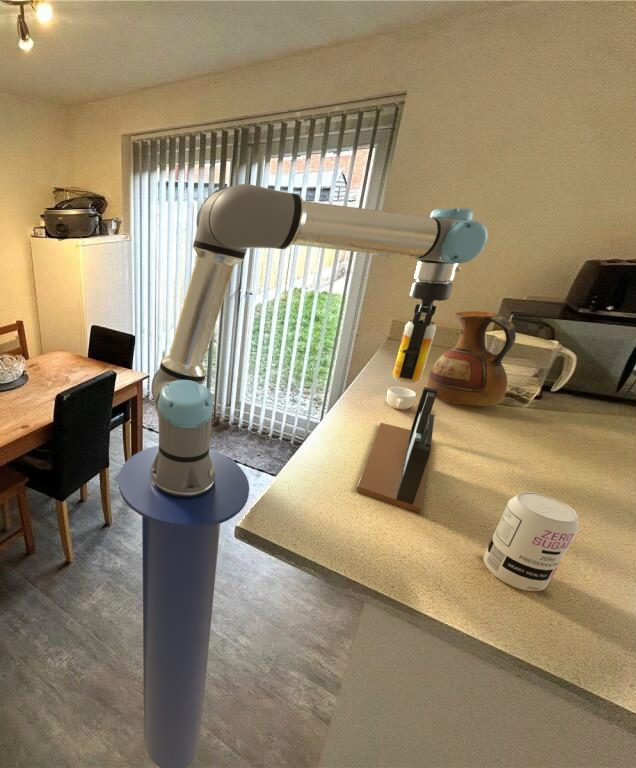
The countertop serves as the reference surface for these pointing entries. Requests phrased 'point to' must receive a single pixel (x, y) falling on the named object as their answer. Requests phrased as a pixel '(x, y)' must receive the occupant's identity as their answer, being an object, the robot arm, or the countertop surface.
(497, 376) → the ceramic pitcher
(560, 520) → the supplement can
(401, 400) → the teacup
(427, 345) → the yellow drink can
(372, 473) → the brown base with upright
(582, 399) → the countertop surface
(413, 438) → the black slab
